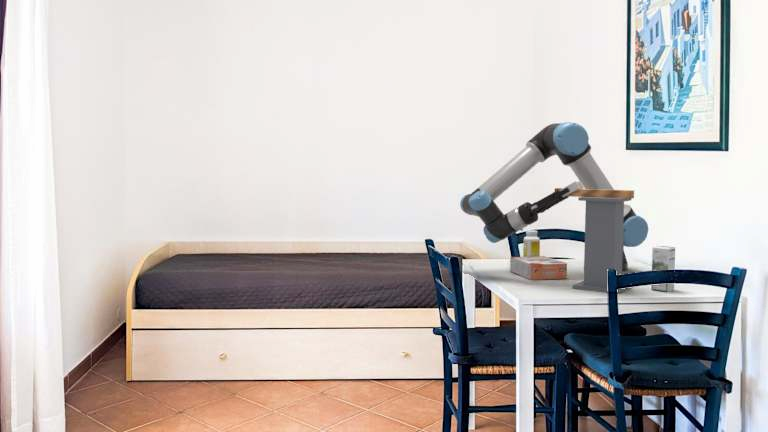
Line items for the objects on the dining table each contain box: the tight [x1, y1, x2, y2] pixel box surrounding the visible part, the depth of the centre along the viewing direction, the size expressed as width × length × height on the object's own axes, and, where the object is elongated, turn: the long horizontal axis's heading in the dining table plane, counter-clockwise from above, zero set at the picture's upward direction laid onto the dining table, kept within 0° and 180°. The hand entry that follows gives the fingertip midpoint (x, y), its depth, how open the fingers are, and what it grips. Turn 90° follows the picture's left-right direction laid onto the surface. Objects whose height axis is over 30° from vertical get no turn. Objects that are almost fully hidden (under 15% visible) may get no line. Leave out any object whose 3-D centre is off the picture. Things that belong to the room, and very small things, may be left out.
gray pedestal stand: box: [571, 197, 632, 294], centre depth 263 cm, size 16×14×30 cm
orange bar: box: [554, 187, 635, 200], centre depth 264 cm, size 26×4×2 cm, turn 57°
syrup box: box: [650, 245, 676, 293], centre depth 261 cm, size 6×6×14 cm
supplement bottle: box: [522, 229, 541, 257], centre depth 328 cm, size 7×7×13 cm
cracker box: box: [509, 255, 568, 281], centre depth 291 cm, size 14×6×21 cm
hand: (579, 184), depth 266 cm, fingers closed on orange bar, 3 cm apart
